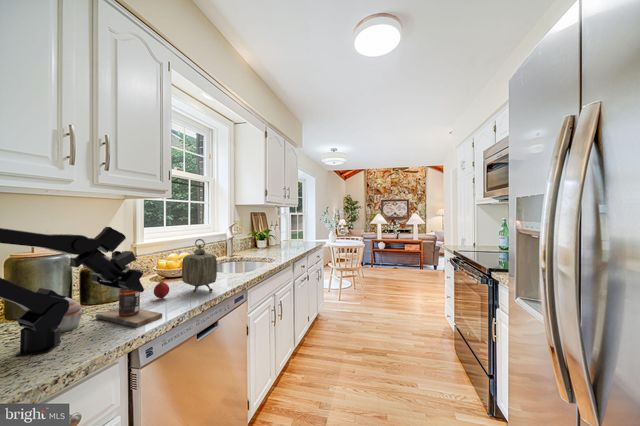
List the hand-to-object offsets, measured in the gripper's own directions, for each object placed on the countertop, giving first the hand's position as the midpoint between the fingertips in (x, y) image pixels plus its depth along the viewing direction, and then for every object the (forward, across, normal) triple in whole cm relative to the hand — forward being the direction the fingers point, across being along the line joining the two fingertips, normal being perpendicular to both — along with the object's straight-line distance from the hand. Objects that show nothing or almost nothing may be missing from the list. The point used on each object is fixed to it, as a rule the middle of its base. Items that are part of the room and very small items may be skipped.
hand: (134, 289), depth 94 cm
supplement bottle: (+5, 0, +7) cm, 8 cm away
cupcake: (-4, +10, +17) cm, 20 cm away
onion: (+20, +9, -6) cm, 22 cm away
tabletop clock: (+30, +3, -16) cm, 34 cm away
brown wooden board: (+6, 0, +8) cm, 10 cm away
